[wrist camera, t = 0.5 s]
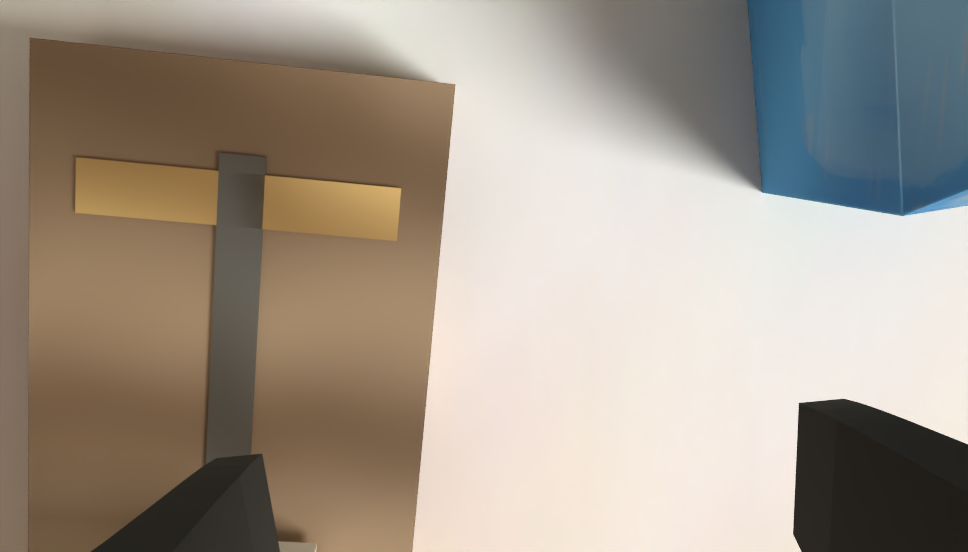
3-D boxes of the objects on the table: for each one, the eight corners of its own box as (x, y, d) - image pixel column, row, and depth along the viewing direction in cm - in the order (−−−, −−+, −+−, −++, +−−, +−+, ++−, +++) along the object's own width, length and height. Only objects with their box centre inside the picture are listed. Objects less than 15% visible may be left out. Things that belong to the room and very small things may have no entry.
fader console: (392, 719, 23) (390, 792, 20) (70, 711, 22) (25, 787, 19) (450, 90, 20) (455, 84, 17) (79, 50, 19) (27, 37, 16)
